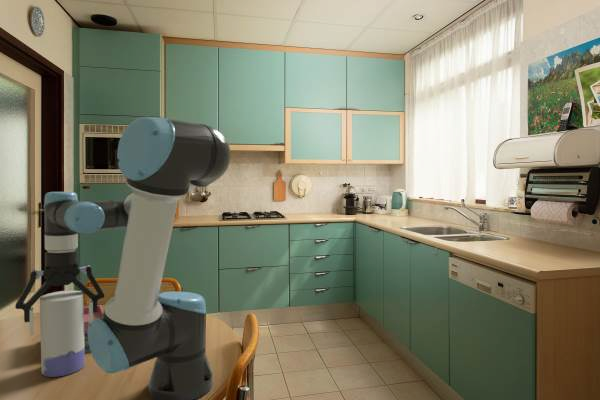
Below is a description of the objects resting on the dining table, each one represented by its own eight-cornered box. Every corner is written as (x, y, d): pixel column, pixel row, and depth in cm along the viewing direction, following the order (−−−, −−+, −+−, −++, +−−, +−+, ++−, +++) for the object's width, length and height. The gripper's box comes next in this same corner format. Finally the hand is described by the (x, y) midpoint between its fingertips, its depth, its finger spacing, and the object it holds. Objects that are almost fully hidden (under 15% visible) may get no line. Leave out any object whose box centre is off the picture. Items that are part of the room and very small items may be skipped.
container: (75, 357, 114) (74, 287, 113) (91, 367, 108) (90, 294, 107) (35, 369, 106) (34, 295, 106) (49, 381, 100) (48, 303, 99)
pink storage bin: (107, 339, 121) (107, 318, 120) (47, 350, 112) (47, 328, 112) (101, 324, 133) (100, 305, 133) (47, 333, 125) (46, 312, 125)
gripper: (111, 244, 116) (111, 316, 117) (4, 251, 102) (5, 332, 103) (115, 248, 109) (115, 324, 111) (1, 256, 96) (3, 343, 97)
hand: (62, 328), depth 107 cm, fingers open, 13 cm apart
